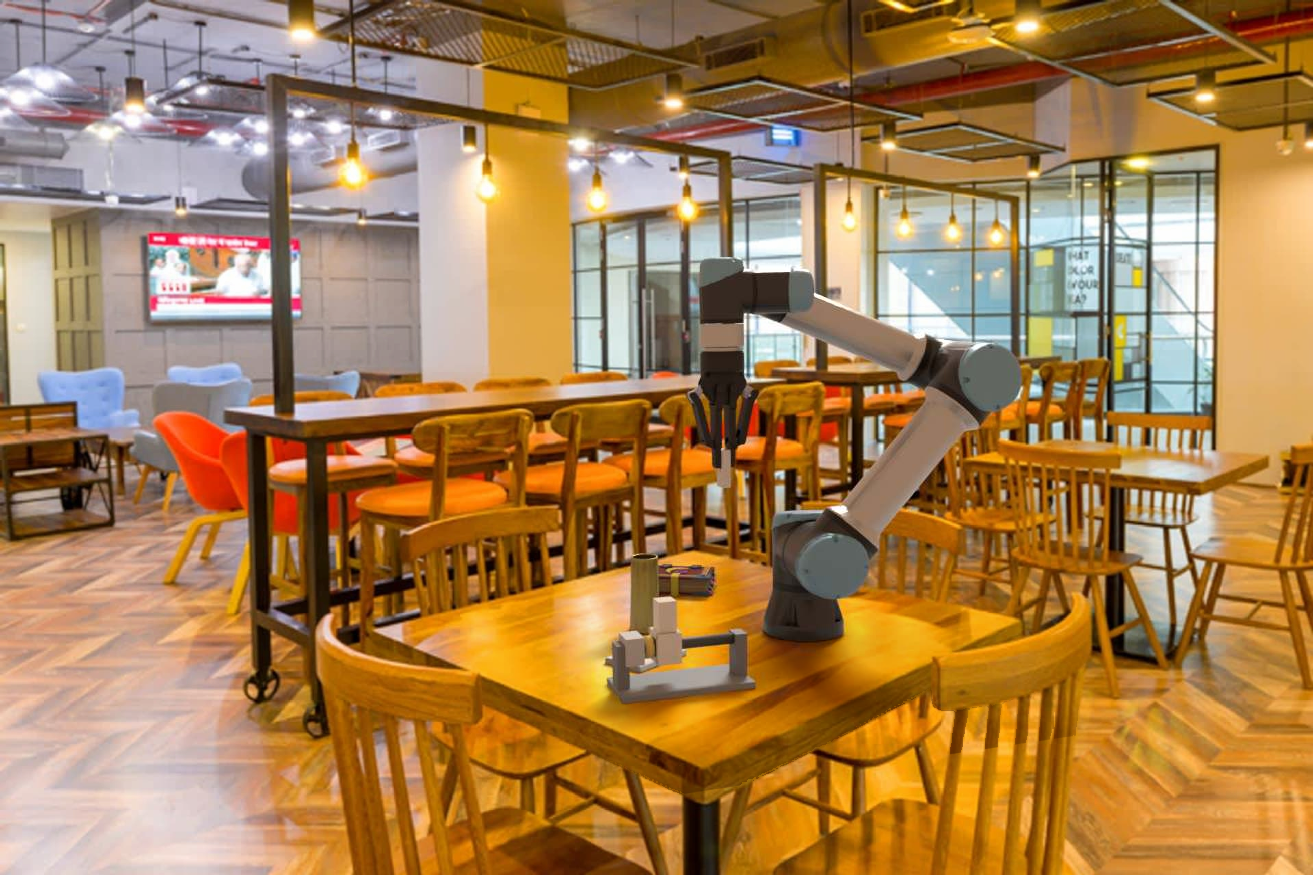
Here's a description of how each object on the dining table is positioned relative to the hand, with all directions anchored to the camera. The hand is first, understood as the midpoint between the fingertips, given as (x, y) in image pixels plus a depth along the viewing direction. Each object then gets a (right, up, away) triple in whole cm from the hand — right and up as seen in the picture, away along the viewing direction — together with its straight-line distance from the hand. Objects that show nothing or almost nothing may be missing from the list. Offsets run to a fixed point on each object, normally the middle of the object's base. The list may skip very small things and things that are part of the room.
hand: (723, 486), depth 189 cm
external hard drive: (-13, -31, +3) cm, 34 cm away
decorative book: (-6, -25, +52) cm, 58 cm away
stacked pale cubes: (-10, -27, -12) cm, 32 cm away
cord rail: (-8, -32, -11) cm, 35 cm away
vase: (-14, -29, +21) cm, 38 cm away
